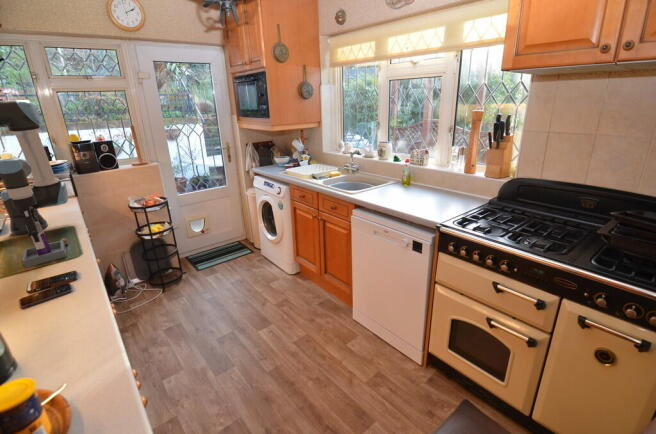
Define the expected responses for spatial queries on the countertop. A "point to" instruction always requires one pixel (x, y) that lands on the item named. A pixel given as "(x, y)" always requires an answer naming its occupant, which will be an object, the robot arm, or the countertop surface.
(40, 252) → the container
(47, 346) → the countertop surface
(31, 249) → the tray
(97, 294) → the countertop surface
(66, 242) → the ball
